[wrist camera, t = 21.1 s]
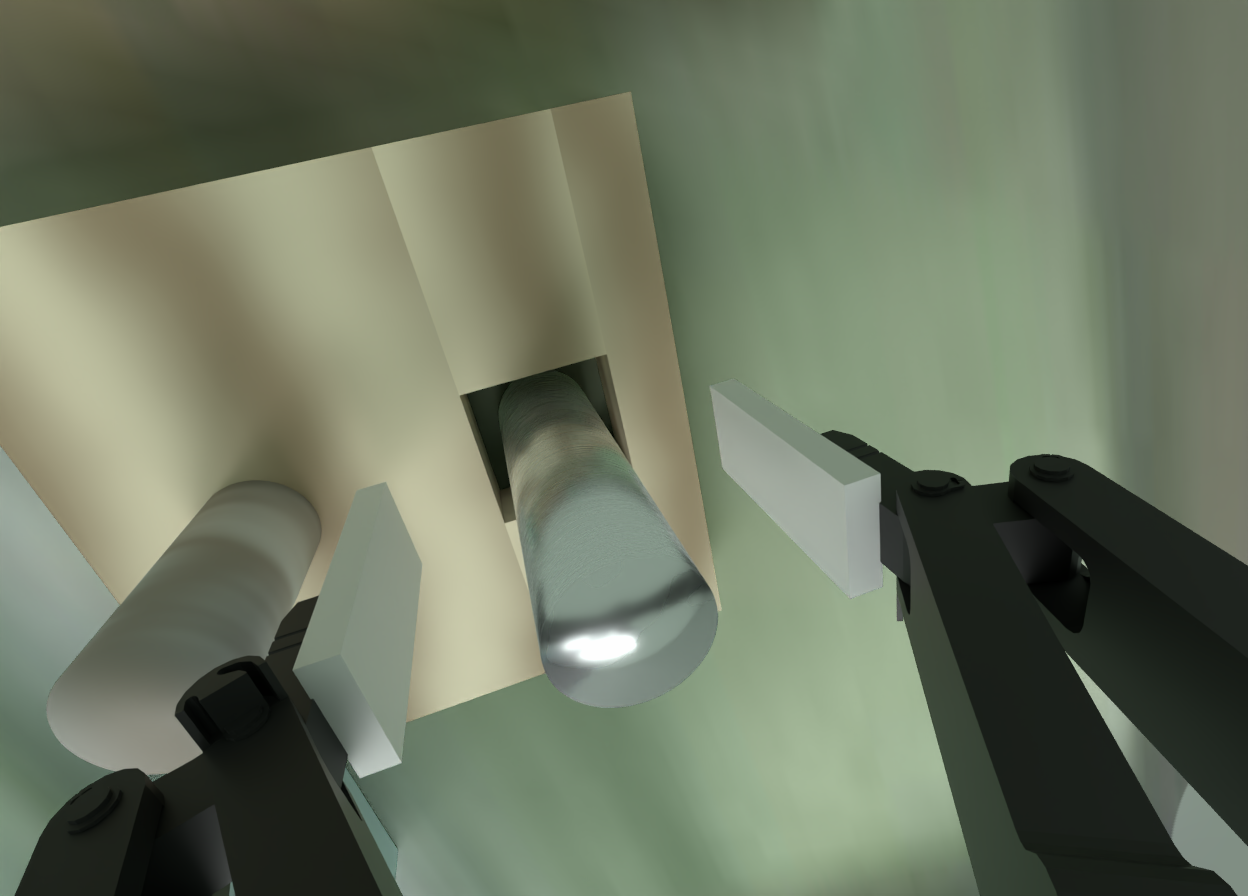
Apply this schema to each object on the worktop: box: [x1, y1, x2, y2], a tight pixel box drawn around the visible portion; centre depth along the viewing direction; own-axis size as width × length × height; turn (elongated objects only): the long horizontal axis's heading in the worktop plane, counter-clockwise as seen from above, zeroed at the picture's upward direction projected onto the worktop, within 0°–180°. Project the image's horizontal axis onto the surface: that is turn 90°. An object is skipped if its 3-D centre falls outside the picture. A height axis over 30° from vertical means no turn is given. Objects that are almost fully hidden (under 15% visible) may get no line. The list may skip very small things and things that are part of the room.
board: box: [0, 91, 722, 775], centre depth 16 cm, size 18×18×10 cm
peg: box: [498, 370, 718, 708], centre depth 16 cm, size 3×3×12 cm
